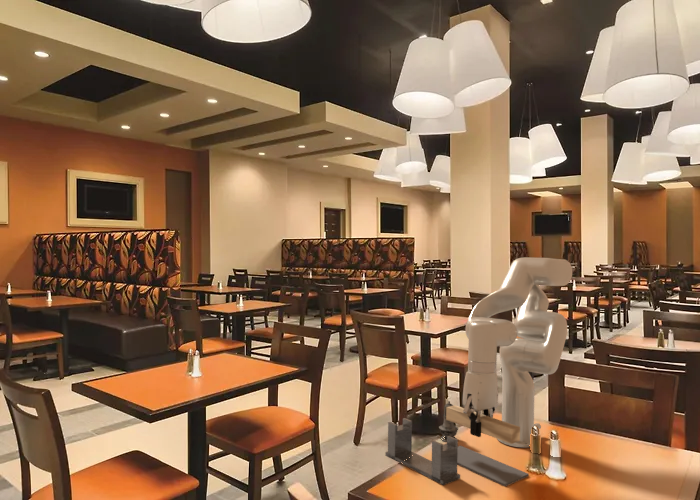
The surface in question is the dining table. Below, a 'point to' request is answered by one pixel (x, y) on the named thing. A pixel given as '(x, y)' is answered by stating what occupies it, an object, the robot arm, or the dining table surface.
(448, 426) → the grey figurine
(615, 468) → the dining table surface
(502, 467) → the mat
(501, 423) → the rail
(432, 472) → the rack
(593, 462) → the dining table surface
